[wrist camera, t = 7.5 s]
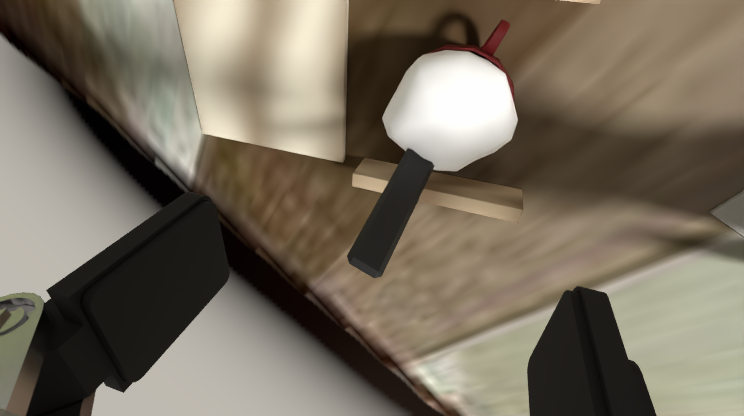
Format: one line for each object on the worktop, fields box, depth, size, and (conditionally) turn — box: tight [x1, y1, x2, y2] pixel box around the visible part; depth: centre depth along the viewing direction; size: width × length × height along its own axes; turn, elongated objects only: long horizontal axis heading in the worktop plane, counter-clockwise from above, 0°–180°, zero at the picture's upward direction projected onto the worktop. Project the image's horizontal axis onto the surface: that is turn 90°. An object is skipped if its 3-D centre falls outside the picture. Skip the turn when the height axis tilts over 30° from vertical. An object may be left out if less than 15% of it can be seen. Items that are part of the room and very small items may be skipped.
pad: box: [174, 0, 349, 163], centre depth 25 cm, size 12×12×1 cm
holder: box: [352, 0, 601, 223], centre depth 21 cm, size 11×13×2 cm
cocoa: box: [347, 20, 518, 278], centre depth 18 cm, size 10×6×12 cm, turn 132°
